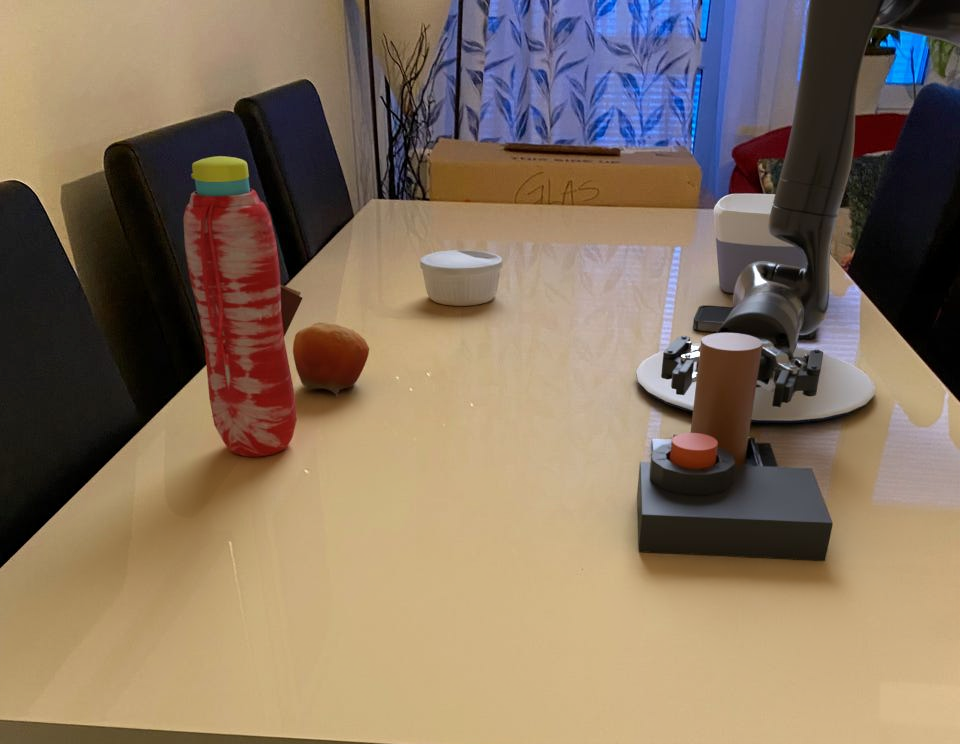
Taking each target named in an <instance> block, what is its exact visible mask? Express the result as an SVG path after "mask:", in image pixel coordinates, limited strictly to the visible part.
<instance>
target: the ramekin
mask: <svg viewBox="0 0 960 744" xmlns="http://www.w3.org/2000/svg"><path fill="white" fill-rule="evenodd" d="M419 260H420V261H419V266H420V269H421V270H422V275H423V281H424V285H425V291H426V294H427V296H428V297H429V298H430V299H431V300H432V301H433V302H434V303H437V304H440V305H445V306H456V307H467V306H468V307H469V306H478V305H481V304H486V303H489V302H490V301H492V300H493V299H494V297H496V295H497V293H498V287H499V282H500V276H501V269H502V268H503V263H504V261H503V258H502V257H501V256H499V255H497V254H495V253H492V252H489V251H481V250H471V249H454V250H453V249H452V250H451V249H450V250H440V251H436V252H431V253H428V254H426V255H423V256H422V257H421V258H420V259H419Z"/></svg>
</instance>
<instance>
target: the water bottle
mask: <svg viewBox="0 0 960 744" xmlns="http://www.w3.org/2000/svg"><path fill="white" fill-rule="evenodd" d="M191 169H192V173H191V174H190V176H191V179H193V180H194V183H195V189H196V190H195V191H193V192H192V193H191V194H190V199H189V202H188V204H187V205H186V206H185V210H184V214H183V235H184V249H185V254H186V261H187V268H188V274H189V281H190V284H191V289H192V292H193V296H194V299H195V304H196V308H197V312H198V315H199V321H200V327H201V333H202V339H203V344H204V352H205V364H206V377H207V387H208V396H209V397H208V398H209V404H210V409H211V414H212V420H213V425H214V427H215V429H216V431H217V433H218V435H219V436H220V438H221V440H222V442H223V443H224V445H225V446H226V448H227V449H228V450H229V451H230V452H231V453H232V454H236V455H238V456H243V457H251V458H254V457H255V458H259V457H260V458H261V457H265V456H272V455H275V454H277V453H279V452H281V451H283V450H285V449H287V448H288V446H289V444H290V443H291V440H292V439H293V436H294V434H295V433H294V432H295V428H296V424H297V420H298V417H297V407H296V395H295V389H294V384H293V378H292V374H291V373H292V372H291V368H290V361H289V357H288V352H287V347H286V341H285V336H286V335H287V332H288V330H289V328H290V326H291V324H292V322H293V319H294V318H295V315H296V313H297V311H298V309H299V307H300V305H301V303H302V301H303V297H302V296H300V295H301V291H298V290H296V289H293V288H290V287H288V286H285V285H283V284H281V270H280V261H279V254H278V245H277V239H276V235H275V231H274V226H273V222H272V217H271V213H270V211H269V210H268V208H267V206H266V204H265V202H264V201H262V200H261V199H260V197H259V194H258V193H257V191H256V190H254V189H253V188H250V187H251V186H250V180H249V177H250V174H249V173H250V172H249V166H248V163H247V161H246V160H244V159H242V158H238V157H232V156H223V155H217V156H211V157H210V156H209V157H206V158H201V159H199V160H196V161H194V162H192V165H191Z"/></svg>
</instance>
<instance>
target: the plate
mask: <svg viewBox="0 0 960 744" xmlns="http://www.w3.org/2000/svg"><path fill="white" fill-rule="evenodd" d="M692 345H693V346H701V342H698V343H697V342H696V343H692ZM810 351H811V349H808V348H803V347H797V346H796V349H795V351H794V353H793V356H794V357H804V354H810ZM663 352H664V350H661V351H659V352H656V353H654V354H652V355H650V356H649V357H647V358H646V359H644V360H643V361H641V362H640V364H639V366H638V367H637V369H636V371H635V375H636V380H637V384H638V385H639V386H640V387H641V388H642V389H643V390H644V391H645V392H646V393H647V394H648V395H649V396H651V397H653V398H656V399H657V400H659V401H661V402H662V403H664V404H666V405H668V406H671V407H674V408H677V409H681V410H682V411H683V410H684V411H686V412H690V413H692V414H693V407H694V398H695V390H696V382H692V384H691V385H690V387H689V388H688V390H687V391H686V393H685V395H678V394H676V389H672V388H671V382H672V379H663V378H662V377H661V373H662V363H663ZM696 365H697V362H694V367H693V372H694V371H695V370H696ZM875 387H876V386H875V383H874V382H873V380H872V379H871V377H869V375H868V373H866V372H865V371H863V369H862V370H861V368H859V367H857V366H855V365H854V364H852V363H850V362H847V361H845V360H842V359H840V358H837V357H835V356H832V355H830V354H827V353H823V358H822V365H821V371H820V375H819V381H818V387H817V393H816V395H815V396H806V395H803V394H802V393H803V391H796V392H795V395H794V396H792V399H791V401H790V402H788V403H784V402H782V405H781V407H774V406H772V404H773V397H774V392H769V391H767V390H766V389H764V388H763V387H758V388H756V391H755V398H754V405H753V411H752V418H751V423H756V424H757V423H759V424H760V423H761V424H796V423H806V422H807V423H808V422H818V421H824V420H829V419H833V418H837V417H842V416H846V415H848V414H850V413H853V412H855V411H857V410H859V409H861V408H864V407H866V406H867V405H868V403H869V402H870V401H871V400H872V399H873V398H874V397H875V395H876V394H875V390H876V389H875Z"/></svg>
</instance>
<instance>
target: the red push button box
mask: <svg viewBox="0 0 960 744" xmlns="http://www.w3.org/2000/svg"><path fill="white" fill-rule="evenodd" d="M670 452H671V443H670V444H665V445H661V446H660V447H658V448H657V449H655V450H654V451H652V450H651V453H650V461H639V466H638V467H639V468H638V477H637V479H638V481H637V492H636V507H637V508H636V510H637V513H636V514H637V540H638V541H637V543H638V544H637V545H638V546H637V547H638V552H639V553H655V554H657V553H659V554H675V555H678V554H680V555H696V556H698V555H699V556H719V557H739V558H757V559H758V558H759V559H760V558H761V559H778V560H779V559H781V560H782V559H783V560H801V561H821V562H823V561H826V558H827V554H828V548H829V544H830V540H831V534H832V530H833V526H834V522H833V519H832V518H831V515H830V512H829V510H828V507H827V503H826V502H825V499H824V497H823V494H822V491H821V489H820V487H819V484H818V482H817V479H816V475H815V474H814V472H813V471H814V470H813V468H812V467H792V466H791V467H788V466H778V467H766V466H740V465H735V460H734V456H733V454H731V453H729V452H728V451H726V450H724V449H723V448H721V447H717V455H716V463H715V465H714V466H712V467H707V468H702V469H700V468H686V467H682V466H678V465H675V464H673V463H672V462H670Z"/></svg>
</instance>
